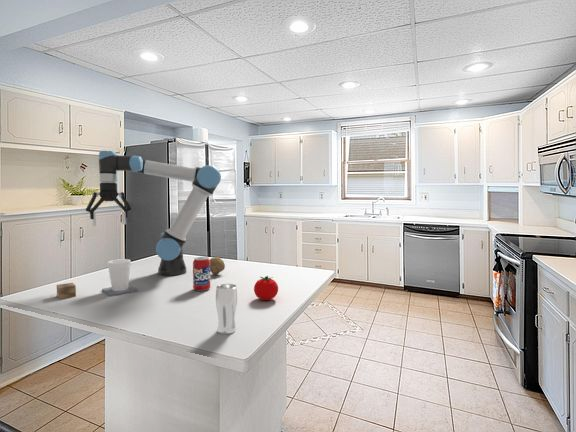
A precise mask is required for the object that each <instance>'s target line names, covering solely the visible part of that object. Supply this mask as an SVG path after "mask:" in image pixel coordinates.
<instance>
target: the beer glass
mask: <svg viewBox="0 0 576 432" xmlns="http://www.w3.org/2000/svg"><path fill="white" fill-rule="evenodd" d="M215 305H216V306H215V308H216V313H217V317H218V318H217V319H218V323H217V324H218V325H217V331H216V332H217V333H218V334H220V335H230V334H233V333H235V332H236V330H237V328H236V322H235V319H236V318H235V317H236V313H237V305H238V292H237V285H236V284H234V283H222V284H221V283H220V284H218V285H216V287H215Z"/></svg>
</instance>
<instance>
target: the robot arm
mask: <svg viewBox="0 0 576 432" xmlns="http://www.w3.org/2000/svg"><path fill="white" fill-rule="evenodd" d="M98 170H99V172H98V173H99V192H96V191H94V192H92V196H91V198H90V200H89V202H88V204H87V206H86V208H85V212H87V213H89V217H90V218H89V219H90V220H92V226H93V227H97V217H96V216H97V213H96V212H95V211H96V210H98V208H99V206H101V204H103V203H104V202H114V203H116V205H117V206H119V207H120V209H122V212H121V215H122V217H121V221H122V223H121V225H127V222H126V221H127V219H126V218H128V212H129V211H131V210H132V208H131V206H130V204H129V202H128V200H127V199H126V197H125V193H124V192H122V191H121V192H118V183H117V182H118V177H117V176H118V175H117V173H118V171H119V172H120V171H123V172H132V173H134V174H143V175H148V176H149V175H150V176H155V177H161V178H167V179H174V180H179V181H183V182H185V181H186V182H191V186H192V189H191V191H190V193H189V195H188V197H187V198H186V200H185V201H184V203H183V205H182V207H181V209H180V211H178V214H177V216H176V218H175V220H174V221H173V223H172V225H171V226H170V228H168V229H166V230H165V231H164V232H161V233H160V240H159V241H158V242H157V243H156V246H155V252H156V255H157V256H158V257H159V259H161V260H160V262H159V266H158V269H157V274H158V275H159V276H165V277H166V276H170V277H171V276H180V275H183V274H185V273H187V266H186V263H185V260H184V245H185V243H186V241H187V237H186V236H187V234H188V233H189V231H190V229H191V228H192V225H193V223H194V222H195V220H196V218H197V217H198V215H199V213H200V211H201V210H202V208H203V206H204V205H205V202H206V201H207V199H208V197H210V196H213V194H214V192H215V190H216V189H217V187H218V186H219V184H220V183H221V178H222V175H221V172H220V171H219V169H218V168H217V167H215V166H213V165H204V166H202V167H200V166H199V167H198V166H195V167H188V166H182V165H177V164H172V163H171V164H170V163H165V162H159V161H154V160H149V159H143V157H141V156H140V155H118V154H117V152H116V151H112V150H100V151H99V153H98ZM118 196H119V198H120V199H121V201H122V202H123V203H122V202H121V201H120V199H119V198H117V197H118ZM98 197H100V198H99V200H98V201H97V202H96V203H95V205H94V202H95V201H96V199H97V198H98ZM93 205H94V206H93ZM92 206H93V207H92Z"/></svg>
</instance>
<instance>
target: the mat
mask: <svg viewBox="0 0 576 432" xmlns="http://www.w3.org/2000/svg"><path fill="white" fill-rule="evenodd" d="M101 291H102V292H104V293H105V294H106V295H107V296H109V297H114V296H119V295H124V294H130V293H131V294H132V293H134V292H136V293H137V292H139V289H138V288H137V287H135V286H134V285H132V284H130V283H128V289H126V290H122V291H113V290H112V286H110V287H106V288H105V287H103V288H102V289H101Z"/></svg>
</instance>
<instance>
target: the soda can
mask: <svg viewBox="0 0 576 432" xmlns="http://www.w3.org/2000/svg"><path fill="white" fill-rule="evenodd" d="M192 288H193V290H194V291H196V292H206V291H208V290H210V289H211V271H210V259H209V257H207V256H198V257H194V260H193V261H192Z"/></svg>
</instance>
